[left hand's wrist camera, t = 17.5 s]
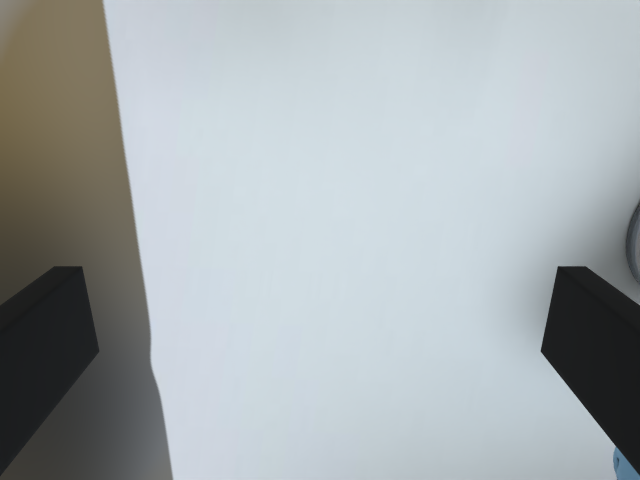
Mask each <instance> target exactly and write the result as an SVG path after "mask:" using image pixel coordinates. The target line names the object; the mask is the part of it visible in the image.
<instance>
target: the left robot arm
mask: <svg viewBox="0 0 640 480" xmlns="http://www.w3.org/2000/svg"><path fill="white" fill-rule="evenodd" d="M626 249H627V259H628V263H629V267H630V269H631V271H632V274H633V275H634V277H635V279H636V280H637V281H638V282H639V284H640V205H639V206H638V208H637V210H636V212H635V214H634V216H633V218H632V221H631V224H630V227H629V231H628V236H627V245H626ZM98 352H99V347H98V342H97V337H96V333H95V327H94V323H93V318H92V313H91V308H90V303H89V298H88V293H87V288H86V284H85V278H84V274H83V269H82V267H81V266H79V267H77V266H75V267H74V266H56V267H53V268H52V269H50V270H49V271H47V272H46V273H45V274H43V275H42V276H40V277H39V278H38V279H36V280H35V281H34V282H32V283H31V284H29V285H28V286H27V287H25V288H24V289H23V290H21V291H20V292H18V293H17V294H16V295H14V296H13V297H11V298H10V299H9V300H7V301H6V302H5V303H3V304H2V305H0V476H1V474H2V473H3V472H4V471H5V469H6V468H7V467H8V466H9V464H10V463H11V462H12V461H13V459H14V458H15V457H16V456H17V454H18V453H19V452H20V451H21V449H22V448H23V447H24V446H25V444H26V443H27V442H28V440H29V439H30V438H31V437H32V435H33V434H34V433H35V432H36V430H37V429H38V428H39V427H40V425H41V424H42V423H43V422H44V420H45V419H46V418H47V417H48V415H49V414H50V413H51V412H52V410H53V409H54V408H55V406H56V405H57V404H58V403H59V401H60V400H61V399H62V398H63V396H64V395H65V394H66V393H67V391H68V390H69V389H70V388H71V386H72V385H73V384H74V383H75V381H76V380H77V379H78V378H79V376H80V375H81V374H82V373H83V371H84V370H85V369H86V368H87V366H88V365H89V364H90V363H91V361H92V360H93V359H94V358H95V356H96V355H97V354H98ZM541 352H542V354H543V355H544V356H545V358H546V359H547V360H548V361H549V363H550V364H551V365H552V366H553V368H554V369H555V370H556V371H557V373H558V374H559V375H560V376H561V378H562V379H563V380H564V381H565V383H566V384H567V385H568V386H569V388H570V389H571V390H572V391H573V393H574V394H575V395H576V396H577V398H578V399H579V400H580V402H581V403H582V404H583V405H584V407H585V408H586V409H587V410H588V412H589V413H590V414H591V415H592V417H593V418H594V419H595V420H596V422H597V423H598V424H599V425H600V427H601V428H602V429H603V430H604V432H605V433H606V434H607V435H608V437H609V438H610V439H611V441H612V442H613V443H614V444H615V446H616V448H615V451H614V455H613V462H614V469H615V472H616V476H617V480H640V305H638V304H637V303H635V302H634V301H633V300H631V299H630V298H629V297H627V296H626V295H624V294H623V293H622V292H620V291H619V290H618V289H616V288H615V287H613V286H612V285H611V284H609V283H608V282H606V281H605V280H604V279H602V278H601V277H600V276H598V275H597V274H595V273H594V272H593V271H591V270H590V269H589V268H587V267H586V266H558V269H557V274H556V278H555V283H554V288H553V293H552V298H551V303H550V308H549V313H548V318H547V323H546V327H545V332H544V337H543V342H542V347H541Z"/></svg>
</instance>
